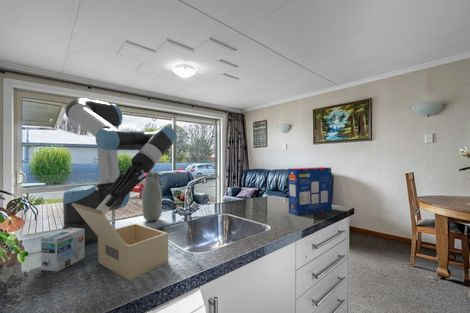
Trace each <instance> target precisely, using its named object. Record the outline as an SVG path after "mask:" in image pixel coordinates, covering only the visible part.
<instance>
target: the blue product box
mask: <svg viewBox="0 0 470 313" xmlns="http://www.w3.org/2000/svg"><path fill="white" fill-rule="evenodd" d="M287 178H288V180H287V187H288V192H287V193H288V213H289V214H291V215H294V216H296V217H297V216H298V217H299V216H307V215H312V214H318V213H326V212H332V211H333V210H332V208H333V206H332V205H333V204H332V203H333V202H332V167H327V166H326V167H325V166H324V167H323V166H322V167H321V166H320V167H319V166H317V167H315V166H314V167H295V168H294V167H293V168H288V169H287Z"/></svg>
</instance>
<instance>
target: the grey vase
mask: <svg viewBox="0 0 470 313" xmlns="http://www.w3.org/2000/svg"><path fill="white" fill-rule="evenodd" d="M145 176H146V178H145V179H144V181H145V182H144V186H143V190H142V193H141V194H142V197H141V198H142V199H141V201H142V216H143V219H144V220H145V221H148V222H156V221H158V220H160V218H161V216H162V211H163V208H162V207H163V205H162V204H163V201H162V200H163V192H162V188H161V184H160V174H159V172H157V171H150V172H149V173H145Z"/></svg>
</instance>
